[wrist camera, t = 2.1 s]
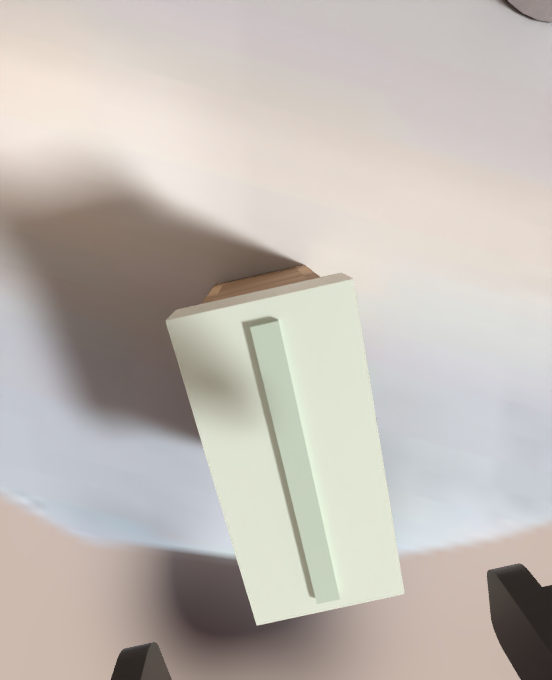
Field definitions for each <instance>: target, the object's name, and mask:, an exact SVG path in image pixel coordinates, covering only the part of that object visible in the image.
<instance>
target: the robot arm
mask: <svg viewBox="0 0 552 680" xmlns="http://www.w3.org/2000/svg"><path fill="white" fill-rule="evenodd" d="M508 1H509V3H511V4H512V5H513V6H514V7H515V8H517V9H518V10H519V11H520V12H522V13H523V14H525V15H528V16H530V17H532V18H534V19H537V20H540V21H547V22H552V0H508ZM487 580H488V591H489V601H490V612H491V620H492V624H493V627H494V630H495V633H496V636H497V638H498V640H499V643H500V645H501V647H502V648H503V650H504V652H505V654H506V655H507V657H508V659H509V660H510V662H511V664H512V666H513V667H514V669H515V671H516V672H517V674H518V676H519V677H520V679H521V680H552V585H550V586H545V587H541V585H540V584H539V583H538V582H537V580H536V579H535V578H534V577H533V576H532V575H531V573H530V572H529V571H528V570H527V568H525V567H524V566H523V565H522V564H514V565H510V566H505V567H501V568H496V569H491V570H488V572H487ZM111 680H171V677H170V674H169V672H168V669H167V667H166V664H165V662H164V659H163V657H162V654H161V651H160V649H159V646H158V645H157V643H155V642H153V643H148V644H144V645H139V646H135V647H130V648H125V649H123V650H122V651H121V653H120V654H119V657H118V659H117V662H116V665H115V668H114V672H113V674H112V678H111Z"/></svg>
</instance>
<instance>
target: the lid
mask: <svg viewBox="0 0 552 680" xmlns="http://www.w3.org/2000/svg"><path fill="white" fill-rule="evenodd" d="M165 322H166V325H167V329H168V332H169V335H170V339H171V342H172V345H173V349H174V352H175V355H176V359H177V362H178V365H179V368H180V372H181V375H182V378H183V382H184V385H185V388H186V392H187V395H188V398H189V402H190V405H191V408H192V412H193V415H194V418H195V422H196V425H197V428H198V432H199V435H200V438H201V442H202V445H203V448H204V452H205V455H206V458H207V462H208V465H209V468H210V472H211V475H212V478H213V482H214V485H215V488H216V492H217V495H218V498H219V501H220V505H221V508H222V511H223V515H224V518H225V521H226V525H227V528H228V531H229V535H230V538H231V541H232V545H233V548H234V551H235V555H236V558H237V561H238V565H239V568H240V571H241V575H242V578H243V581H244V585H245V588H246V591H247V595H248V598H249V601H250V604H251V608H252V611H253V615H254V618H255V621H256V625H261V624H266V623H271V622H275V621H280V620H285V619H289V618H294V617H299V616H303V615H308V614H313V613H317V612H322V611H327V610H331V609H336V608H341V607H345V606H350V605H355V604H360V603H364V602H369V601H373V600H378V599H383V598H388V597H392V596H397V595H401V594H404V587H403V581H402V575H401V569H400V563H399V556H398V550H397V544H396V538H395V532H394V526H393V520H392V513H391V507H390V501H389V495H388V489H387V483H386V477H385V471H384V464H383V458H382V452H381V446H380V440H379V434H378V428H377V421H376V415H375V409H374V403H373V397H372V391H371V385H370V379H369V372H368V366H367V360H366V354H365V348H364V342H363V336H362V329H361V323H360V317H359V311H358V305H357V299H356V293H355V286H354V280H353V279H352V278H351V277H349V276H347V275H345V274H343V273H338V274H333V275H329V276H324V277H320V278H315V279H311V280H306V281H302V282H297V283H293V284H288V285H284V286H279V287H275V288H270V289H266V290H261V291H257V292H253V293H248V294H244V295H239V296H235V297H230V298H226V299H221V300H217V301H212V302H208V303H203V304H199V305H194V306H190V307H185V308H181V309H176V310H175V311H174V312H173V313H172V314H171V315H170V316H169V318H168V319H167V320H166V321H165Z"/></svg>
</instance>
